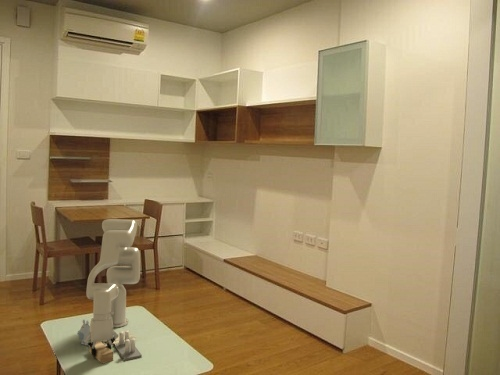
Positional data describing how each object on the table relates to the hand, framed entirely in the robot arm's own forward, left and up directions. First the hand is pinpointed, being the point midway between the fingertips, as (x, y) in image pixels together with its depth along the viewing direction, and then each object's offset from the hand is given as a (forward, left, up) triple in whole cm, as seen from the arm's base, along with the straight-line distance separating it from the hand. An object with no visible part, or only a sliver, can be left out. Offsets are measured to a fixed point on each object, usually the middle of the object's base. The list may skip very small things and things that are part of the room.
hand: (101, 353), depth 200 cm
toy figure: (-16, -4, -1) cm, 17 cm away
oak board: (0, 0, -1) cm, 1 cm away
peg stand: (-1, +12, -1) cm, 12 cm away
